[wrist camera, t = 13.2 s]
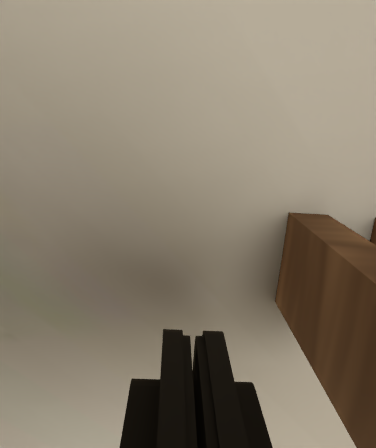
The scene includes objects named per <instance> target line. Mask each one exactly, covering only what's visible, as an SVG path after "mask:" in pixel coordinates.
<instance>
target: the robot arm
mask: <svg viewBox="0 0 376 448" xmlns="http://www.w3.org/2000/svg"><path fill="white" fill-rule="evenodd" d="M120 448H272V444H271V441H270V438H269V434H268V431H267V427H266V424H265V421H264V417H263V414H262V411H261V407H260V404H259V400H258V397H257V394H256V390H255V387H254V385H253V383H252V382H234V378H233V373H232V369H231V364H230V360H229V356H228V351H227V347H226V342H225V338H224V334H223V332H220V331H203V335H202V336H196V337H195V347H194V359H193V371H192V358H191V344H190V336H185V335H183V331H182V330H167V329H163V344H162V361H161V379H160V380H157V379H132V380H131V384H130V390H129V396H128V402H127V408H126V414H125V420H124V425H123V431H122V437H121V443H120Z"/></svg>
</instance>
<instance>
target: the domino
mask: <svg viewBox="0 0 376 448" xmlns="http://www.w3.org/2000/svg"><path fill="white" fill-rule="evenodd" d="M275 302H276V304H277V306H278V308H279V309H280V311H281V313H282V315H283V317H284V318H285V320H286V322H287V324H288V326H289V327H290V329H291V331H292V333H293V335H294V336H295V338H296V340H297V342H298V344H299V345H300V347H301V349H302V351H303V352H304V354H305V356H306V358H307V360H308V361H309V363H310V365H311V367H312V369H313V370H314V372H315V374H316V376H317V378H318V379H319V381H320V383H321V385H322V386H323V388H324V390H325V392H326V394H327V395H328V397H329V399H330V401H331V403H332V404H333V406H334V408H335V410H336V412H337V413H338V415H339V417H340V419H341V420H342V422H343V424H344V426H345V428H346V429H347V431H348V433H349V435H350V437H351V438H352V440H353V442H354V444H355V446H356V447H357V448H376V245H375V244H373V243H372V242H370V241H368V240H367V239H365V238H364V237H362V236H360V235H359V234H357V233H356V232H354V231H352V230H351V229H349V228H348V227H346V226H345V225H343V224H341V223H340V222H338V221H337V220H335V219H333V218H332V217H330V216H329V215H320V214H301V213H289V216H288V222H287V229H286V235H285V242H284V248H283V255H282V261H281V267H280V274H279V280H278V287H277V293H276V300H275Z"/></svg>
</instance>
